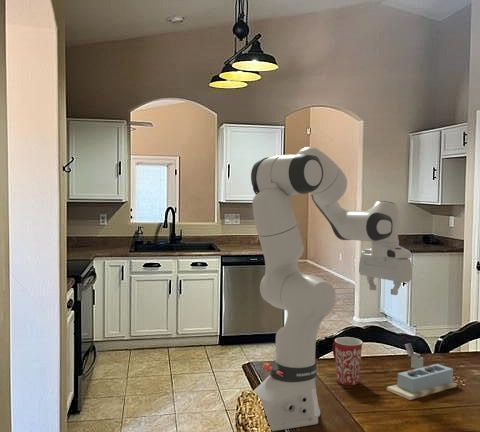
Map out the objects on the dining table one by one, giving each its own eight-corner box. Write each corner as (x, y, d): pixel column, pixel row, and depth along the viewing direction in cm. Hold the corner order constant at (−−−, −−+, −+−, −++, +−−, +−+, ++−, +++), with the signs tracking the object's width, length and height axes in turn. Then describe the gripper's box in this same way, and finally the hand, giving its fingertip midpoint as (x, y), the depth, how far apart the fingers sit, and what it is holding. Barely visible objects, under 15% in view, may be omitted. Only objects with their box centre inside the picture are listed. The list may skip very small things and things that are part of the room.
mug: (367, 384, 163) (368, 343, 163) (343, 388, 160) (343, 345, 160) (346, 372, 175) (347, 333, 175) (323, 374, 172) (323, 335, 172)
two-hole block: (412, 393, 154) (413, 379, 154) (397, 386, 159) (397, 373, 159) (452, 381, 164) (453, 369, 164) (437, 376, 169) (437, 363, 169)
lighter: (423, 370, 178) (424, 347, 178) (420, 370, 177) (420, 348, 177) (407, 364, 184) (408, 342, 184) (404, 364, 183) (404, 343, 183)
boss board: (409, 400, 151) (410, 379, 151) (386, 390, 159) (387, 370, 158) (456, 386, 162) (457, 367, 162) (433, 377, 170) (433, 359, 170)
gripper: (355, 247, 174) (353, 288, 175) (401, 253, 157) (400, 298, 157) (368, 247, 177) (367, 286, 178) (415, 253, 160) (414, 296, 160)
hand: (383, 292), depth 167 cm, fingers open, 8 cm apart
